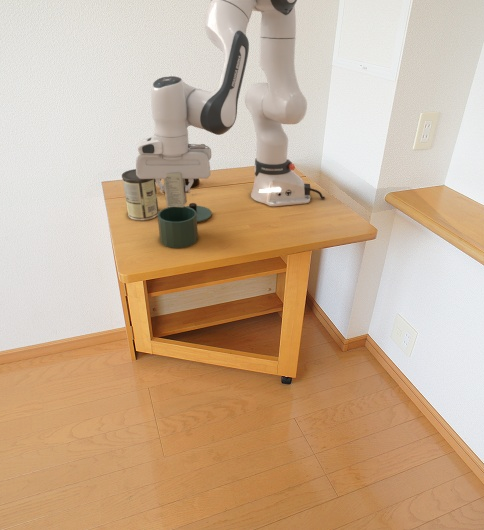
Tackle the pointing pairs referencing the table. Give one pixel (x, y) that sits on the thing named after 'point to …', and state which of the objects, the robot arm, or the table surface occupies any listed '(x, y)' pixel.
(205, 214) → the dark green lid
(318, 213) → the table surface
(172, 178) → the small printed carton
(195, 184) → the supplement bottle
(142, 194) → the coffee can
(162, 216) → the dark green round container
